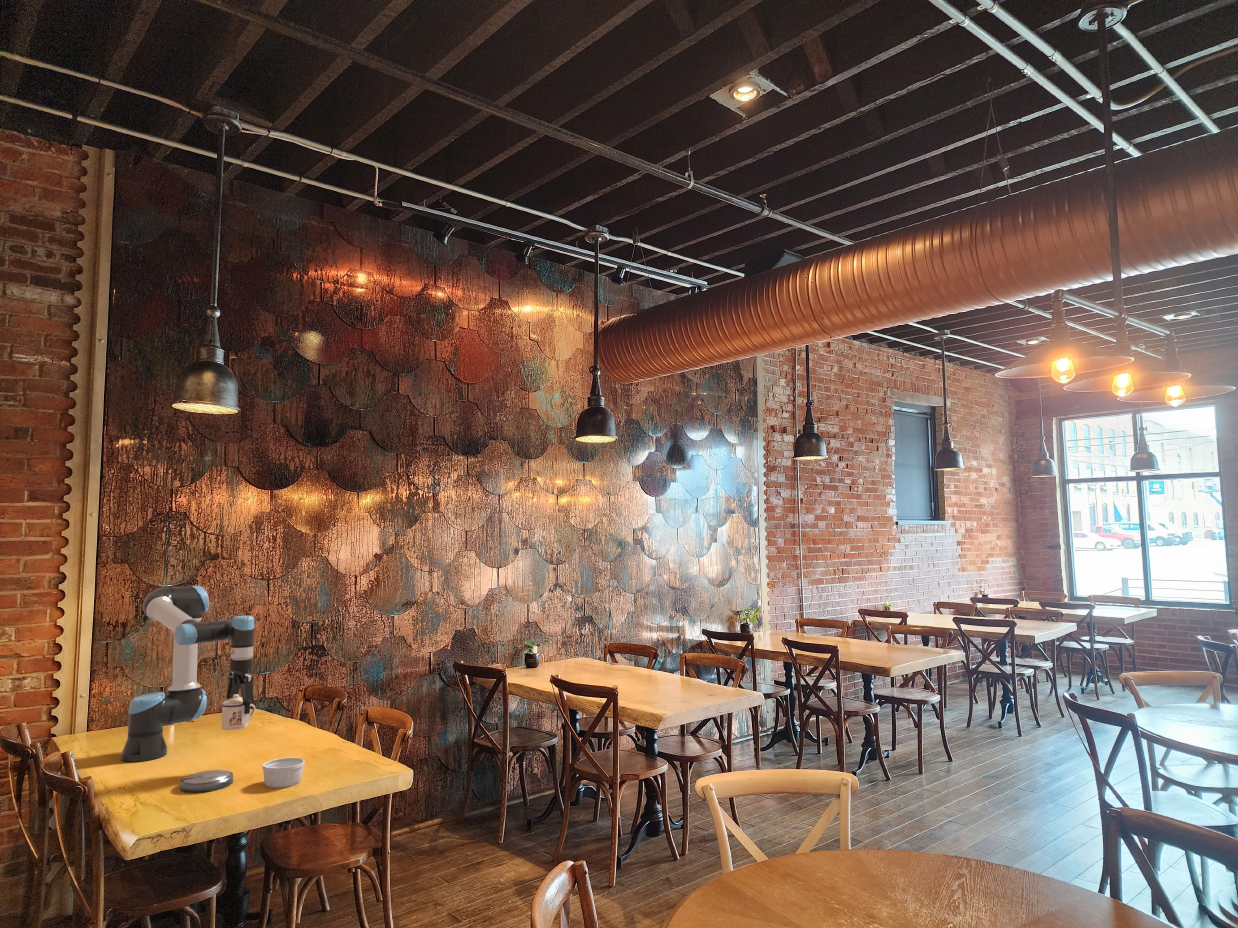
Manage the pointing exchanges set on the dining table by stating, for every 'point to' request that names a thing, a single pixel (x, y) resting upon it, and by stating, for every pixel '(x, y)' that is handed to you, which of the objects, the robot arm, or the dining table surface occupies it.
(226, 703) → the teacup with lid
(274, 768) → the ramekin
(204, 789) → the dark gray round plate
